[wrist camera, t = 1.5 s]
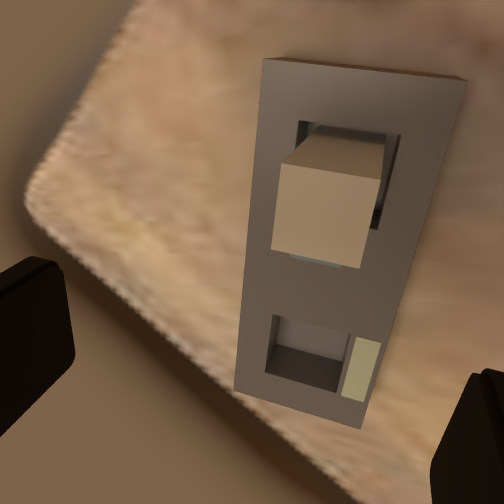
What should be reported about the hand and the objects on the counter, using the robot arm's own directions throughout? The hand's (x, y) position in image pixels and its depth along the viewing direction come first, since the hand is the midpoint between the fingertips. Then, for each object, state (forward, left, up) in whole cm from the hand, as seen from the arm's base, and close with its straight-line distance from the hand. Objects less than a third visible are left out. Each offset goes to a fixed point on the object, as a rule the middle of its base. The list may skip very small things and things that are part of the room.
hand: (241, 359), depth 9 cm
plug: (0, 0, -19) cm, 19 cm away
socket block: (0, +7, -20) cm, 21 cm away
